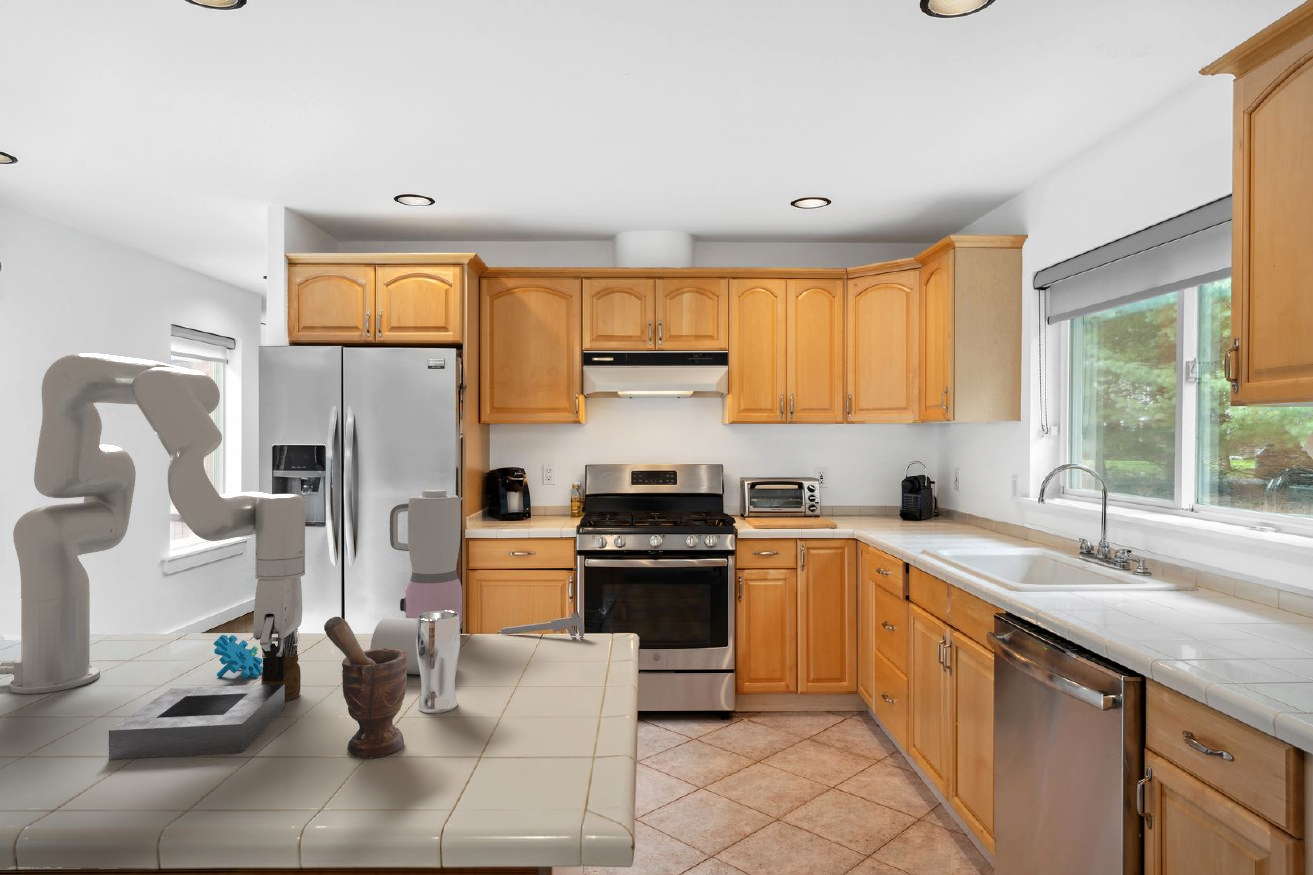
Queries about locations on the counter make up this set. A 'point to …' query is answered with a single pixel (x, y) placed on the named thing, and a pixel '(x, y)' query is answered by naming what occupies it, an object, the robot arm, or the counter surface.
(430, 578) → the blender
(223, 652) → the gear
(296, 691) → the utensil holder
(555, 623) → the caliper
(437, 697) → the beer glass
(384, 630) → the toilet paper
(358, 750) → the mortar and pestle
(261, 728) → the hollow square block
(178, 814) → the counter surface
